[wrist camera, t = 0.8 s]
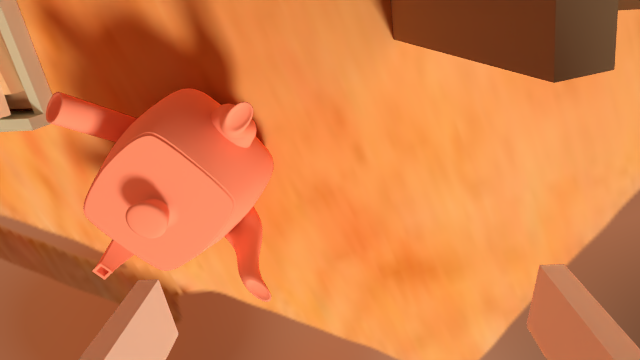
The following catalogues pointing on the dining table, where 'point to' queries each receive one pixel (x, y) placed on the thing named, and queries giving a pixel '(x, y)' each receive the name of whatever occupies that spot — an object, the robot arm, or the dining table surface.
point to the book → (517, 33)
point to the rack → (20, 74)
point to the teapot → (175, 180)
